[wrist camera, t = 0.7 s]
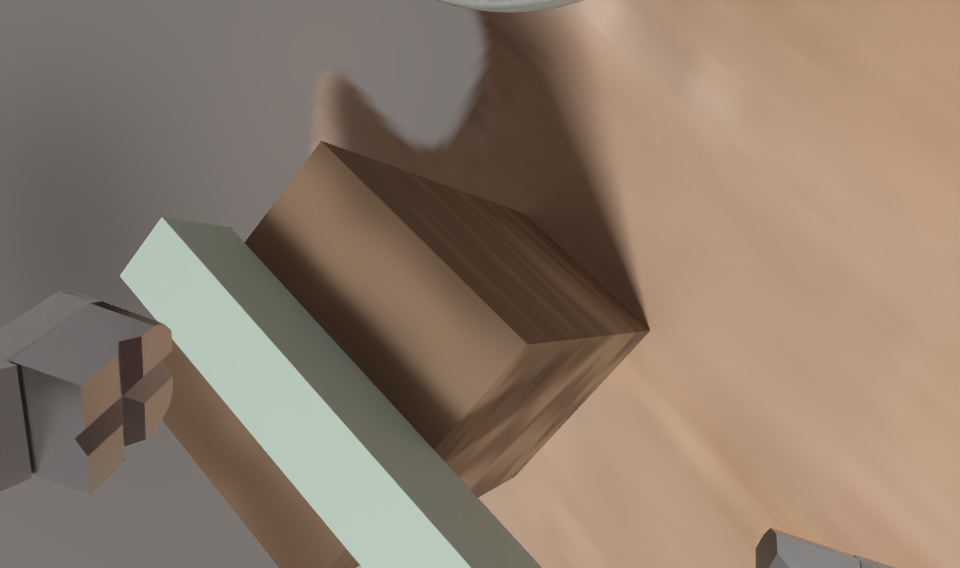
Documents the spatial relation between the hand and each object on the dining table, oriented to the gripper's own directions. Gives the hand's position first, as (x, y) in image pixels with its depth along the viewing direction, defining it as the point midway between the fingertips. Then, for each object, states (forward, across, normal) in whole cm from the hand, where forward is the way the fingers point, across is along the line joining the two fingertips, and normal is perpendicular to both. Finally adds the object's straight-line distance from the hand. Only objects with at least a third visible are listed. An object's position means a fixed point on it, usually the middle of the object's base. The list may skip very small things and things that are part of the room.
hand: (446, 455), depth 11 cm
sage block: (+15, +6, +15) cm, 22 cm away
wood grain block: (+39, +3, +25) cm, 47 cm away
